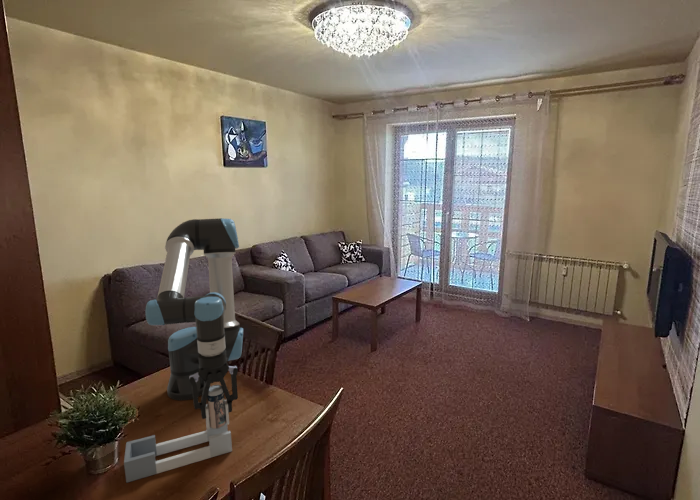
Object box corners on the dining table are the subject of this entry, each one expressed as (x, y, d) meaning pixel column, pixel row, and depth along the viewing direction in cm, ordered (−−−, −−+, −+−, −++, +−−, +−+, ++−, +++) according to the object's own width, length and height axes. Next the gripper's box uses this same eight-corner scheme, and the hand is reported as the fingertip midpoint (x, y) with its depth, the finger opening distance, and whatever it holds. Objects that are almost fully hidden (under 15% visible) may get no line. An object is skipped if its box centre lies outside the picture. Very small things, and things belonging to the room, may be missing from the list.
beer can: (221, 431, 113) (218, 393, 111) (206, 429, 114) (203, 391, 112) (229, 421, 118) (226, 384, 116) (214, 419, 119) (212, 383, 116)
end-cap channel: (128, 460, 111) (126, 442, 110) (227, 433, 123) (226, 416, 121) (126, 482, 103) (123, 462, 102) (232, 451, 115) (230, 433, 114)
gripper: (179, 363, 104) (186, 440, 109) (246, 350, 112) (250, 423, 116) (177, 352, 111) (184, 425, 115) (241, 340, 119) (245, 410, 123)
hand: (217, 424), depth 116 cm, fingers closed on beer can, 5 cm apart
